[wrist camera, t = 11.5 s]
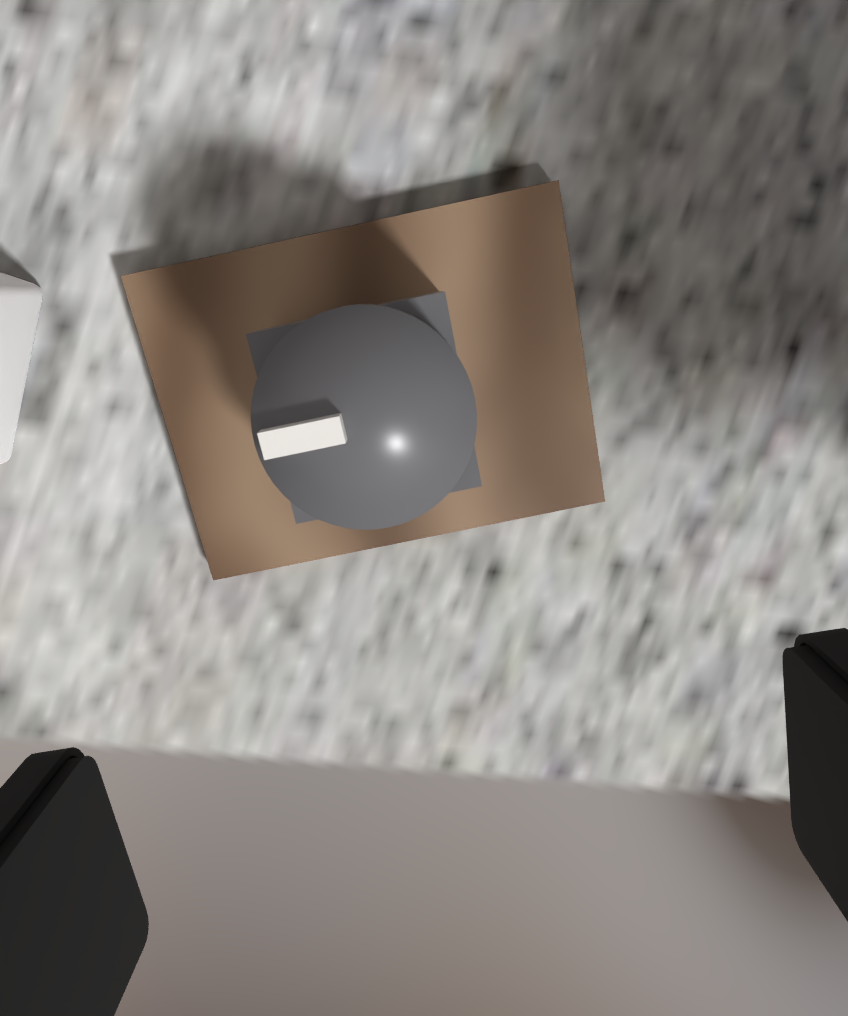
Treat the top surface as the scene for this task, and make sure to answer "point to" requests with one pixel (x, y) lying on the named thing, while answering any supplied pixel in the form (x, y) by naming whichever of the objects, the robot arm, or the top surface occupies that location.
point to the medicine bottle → (15, 351)
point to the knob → (365, 412)
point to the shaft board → (374, 280)
